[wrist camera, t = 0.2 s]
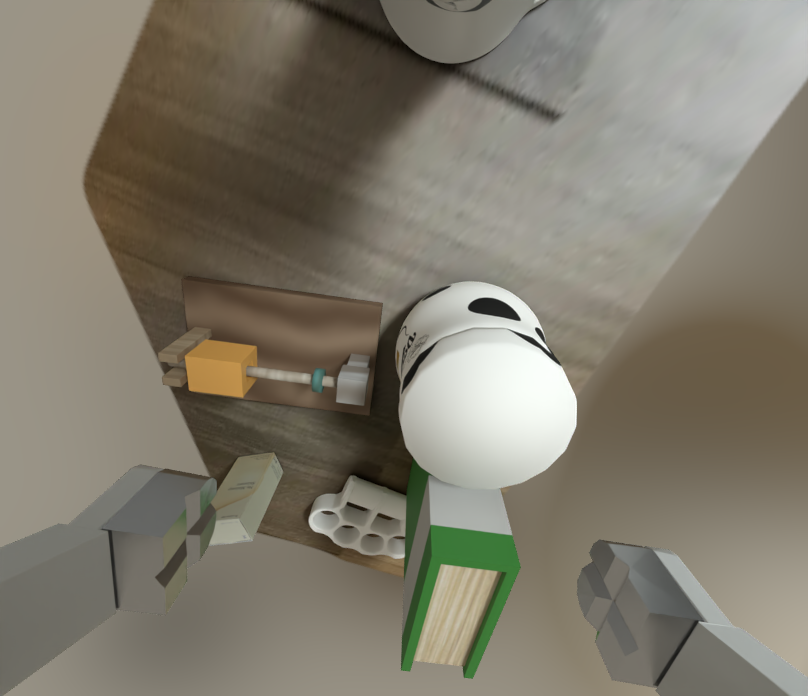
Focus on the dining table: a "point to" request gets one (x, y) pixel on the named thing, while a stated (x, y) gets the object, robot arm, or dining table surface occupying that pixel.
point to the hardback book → (453, 571)
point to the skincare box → (244, 498)
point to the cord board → (285, 342)
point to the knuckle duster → (363, 518)
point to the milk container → (481, 388)
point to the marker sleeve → (221, 368)
